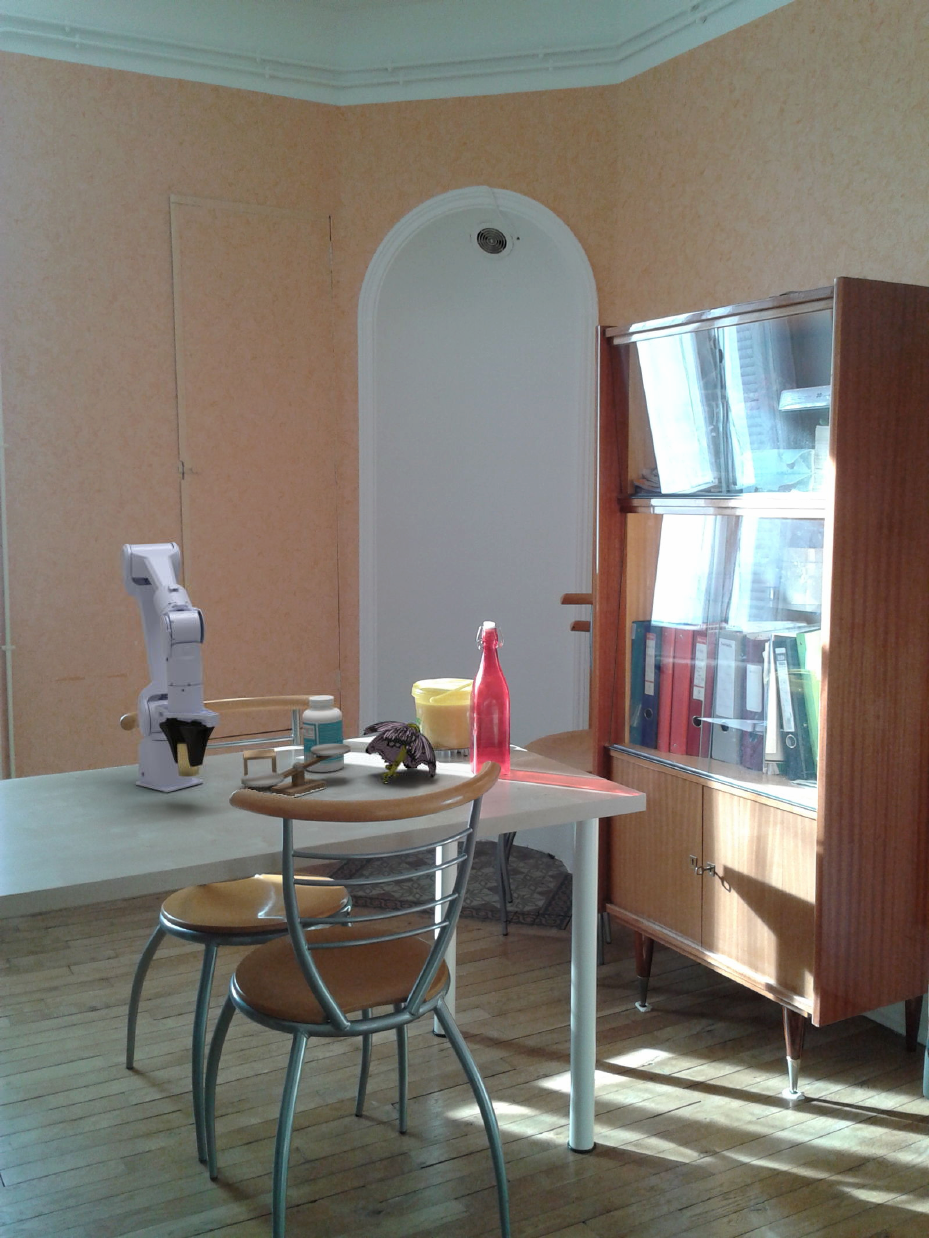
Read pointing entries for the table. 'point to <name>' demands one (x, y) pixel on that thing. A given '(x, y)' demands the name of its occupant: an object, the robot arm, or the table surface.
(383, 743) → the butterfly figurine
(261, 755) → the small wooden stool
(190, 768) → the cylinder
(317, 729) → the pill bottle
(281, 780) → the balance
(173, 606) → the robot arm
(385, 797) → the table surface
